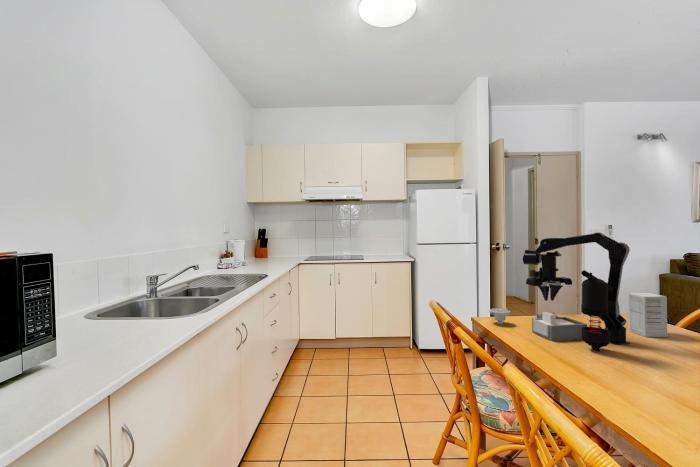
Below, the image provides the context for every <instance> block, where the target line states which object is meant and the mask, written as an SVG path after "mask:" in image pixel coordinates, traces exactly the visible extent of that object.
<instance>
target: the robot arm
mask: <svg viewBox="0 0 700 467" xmlns="http://www.w3.org/2000/svg"><path fill="white" fill-rule="evenodd" d="M591 243H592V244H593V243H596V244H598V245H599V246H600V247H602V248H603V249H605V250H607V252H608V260H609V271H608V280H607V283H608V284H607V285H609V286H610V287H612V288H613V289H614V291H613V292H608V316H606V317H601V318H599V320H600V321H601V322H603V323H604V326H605V327H604V329H606V330H609V331H610V332H611V334H610V343H609V344H613V345H629V344H630V341H628V340H627V328H626V327H625V325H626V323H628V322H627V319H626V318H624V317H623V316H622V315H621V314H620V313H621V312H620V304H619V294H620V290H621V289H620V288H621V283H622V276H623V268H624V265H625V264H626V263H625V262H626V261H627V259H628V256H629V254H630V251H631V250H630V246H629V245H628V244H627V243H625V242H621V241H620V242H618V241H617V240H615V239H613V238H610V237H609V236H606V235H605V234H604V233H602V232H593V233H589V234H581V235H576V236H570V237H569V236H567V237H546V238H542V239H541V241H540V242H539V246H538V247H537V248H536V249H535V250H531V249H525V250H524V252H523V256H522V263H523V265H528V266H529V265H530V266H538V265H539V264H541V267H539V269H538V270H539V271H536V270H535V269H531V270H529V277H528V278H526V279H525V280H526V281H525V284H526V285H529V286H533V287H537V288H539V290H540V291H541V294H542V296H543V299H544V301H545V302H547V301H548V300H549V298H550V301H552V302H553V301H554V300H555V298H556V296H557V295H558V293H559V291H560V290H561V288H563V287H564V285H566V286H570V285H571V286H572V285H573V280H572V279H571V278H570V277H565V276H557V272H559V268H557V257H562V256H563V255H562V253H560V252H559V251H558V249H561V248H565V247H569V246H576V245H584V244H591ZM562 284H564V285H562ZM549 293H550V297H549Z"/></svg>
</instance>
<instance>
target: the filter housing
mask: <svg viewBox="0 0 700 467" xmlns="http://www.w3.org/2000/svg"><path fill="white" fill-rule="evenodd" d="M533 319H535V320H542V313H541V314H536V318H535V317H534V318H532V319H531V328H532V329H531V332H532V333H533V334H536V335H538V336H540V337H541V338H544V339H547V340H549V341H551V342H557V341H559V340H560V341H571V340H572V341H574V340H573V339H577V340H583V339H582V330H581V328H582V327H588V324H587V323H584V322H581V321H578V320H576V319H573V318H570V317H567V316H558V315H556V319H563V320H566V321H568V322H571V323H574V324H566V325H549V337H547V336H545V335H543V334H540V333H538V332H536V331H534V330H533Z"/></svg>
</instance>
